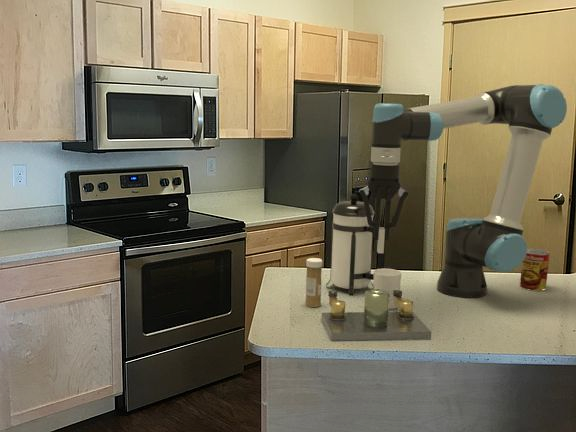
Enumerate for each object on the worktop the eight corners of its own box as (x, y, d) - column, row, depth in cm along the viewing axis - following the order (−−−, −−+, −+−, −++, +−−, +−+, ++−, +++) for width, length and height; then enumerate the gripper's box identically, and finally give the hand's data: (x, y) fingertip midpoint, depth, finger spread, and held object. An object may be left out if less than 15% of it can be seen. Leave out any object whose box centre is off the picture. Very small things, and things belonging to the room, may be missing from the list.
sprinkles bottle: (324, 306, 180) (325, 260, 178) (311, 308, 178) (312, 262, 175) (314, 301, 184) (316, 256, 182) (301, 304, 182) (303, 258, 179)
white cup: (401, 303, 185) (403, 270, 183) (397, 311, 177) (399, 276, 176) (374, 300, 187) (376, 267, 185) (369, 307, 180) (370, 273, 178)
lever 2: (402, 304, 176) (402, 290, 175) (414, 318, 165) (415, 302, 164) (389, 305, 175) (390, 290, 175) (400, 318, 164) (401, 302, 164)
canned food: (515, 286, 205) (518, 250, 203) (527, 282, 210) (531, 247, 208) (538, 292, 199) (541, 255, 197) (550, 288, 204) (554, 252, 202)
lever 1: (338, 305, 174) (338, 290, 173) (346, 319, 163) (346, 303, 162) (325, 305, 173) (325, 290, 173) (332, 319, 162) (332, 303, 162)
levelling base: (412, 318, 171) (415, 281, 170) (430, 339, 157) (433, 298, 155) (321, 319, 169) (322, 281, 167) (331, 340, 154) (332, 298, 152)
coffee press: (324, 295, 190) (328, 196, 185) (327, 281, 206) (330, 189, 201) (382, 298, 188) (387, 199, 183) (381, 284, 204) (386, 191, 199)
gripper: (360, 164, 161) (356, 254, 165) (412, 165, 160) (406, 256, 165) (359, 161, 169) (355, 247, 173) (408, 163, 168) (403, 250, 172)
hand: (380, 252), depth 169 cm, fingers closed
